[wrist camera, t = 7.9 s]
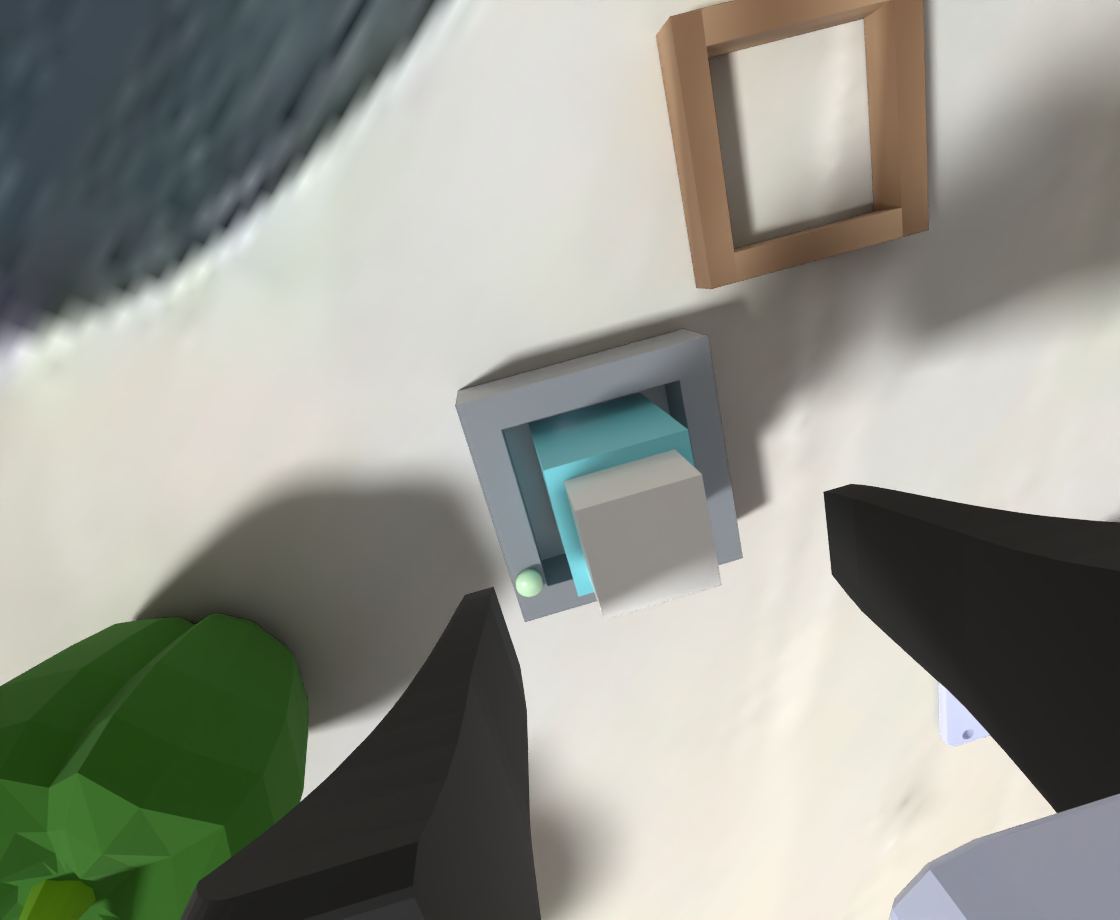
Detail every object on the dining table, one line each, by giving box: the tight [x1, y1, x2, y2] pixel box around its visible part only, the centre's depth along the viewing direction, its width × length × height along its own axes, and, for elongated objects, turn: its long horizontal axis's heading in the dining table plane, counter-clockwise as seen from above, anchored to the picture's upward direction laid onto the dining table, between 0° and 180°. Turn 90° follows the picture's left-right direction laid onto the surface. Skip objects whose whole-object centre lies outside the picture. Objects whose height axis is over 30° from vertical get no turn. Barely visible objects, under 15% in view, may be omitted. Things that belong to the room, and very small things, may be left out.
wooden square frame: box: [656, 0, 929, 289], centre depth 16 cm, size 7×7×1 cm
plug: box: [529, 392, 722, 620], centre depth 15 cm, size 4×4×6 cm
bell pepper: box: [0, 613, 308, 920], centre depth 15 cm, size 8×8×10 cm
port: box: [455, 329, 743, 622], centre depth 18 cm, size 7×7×2 cm
